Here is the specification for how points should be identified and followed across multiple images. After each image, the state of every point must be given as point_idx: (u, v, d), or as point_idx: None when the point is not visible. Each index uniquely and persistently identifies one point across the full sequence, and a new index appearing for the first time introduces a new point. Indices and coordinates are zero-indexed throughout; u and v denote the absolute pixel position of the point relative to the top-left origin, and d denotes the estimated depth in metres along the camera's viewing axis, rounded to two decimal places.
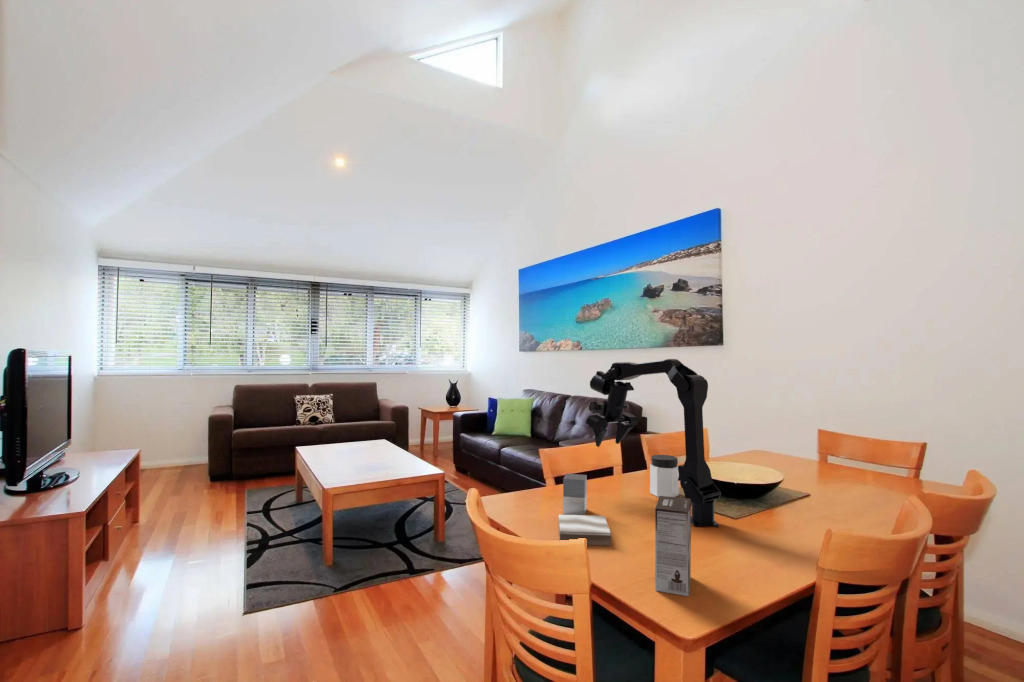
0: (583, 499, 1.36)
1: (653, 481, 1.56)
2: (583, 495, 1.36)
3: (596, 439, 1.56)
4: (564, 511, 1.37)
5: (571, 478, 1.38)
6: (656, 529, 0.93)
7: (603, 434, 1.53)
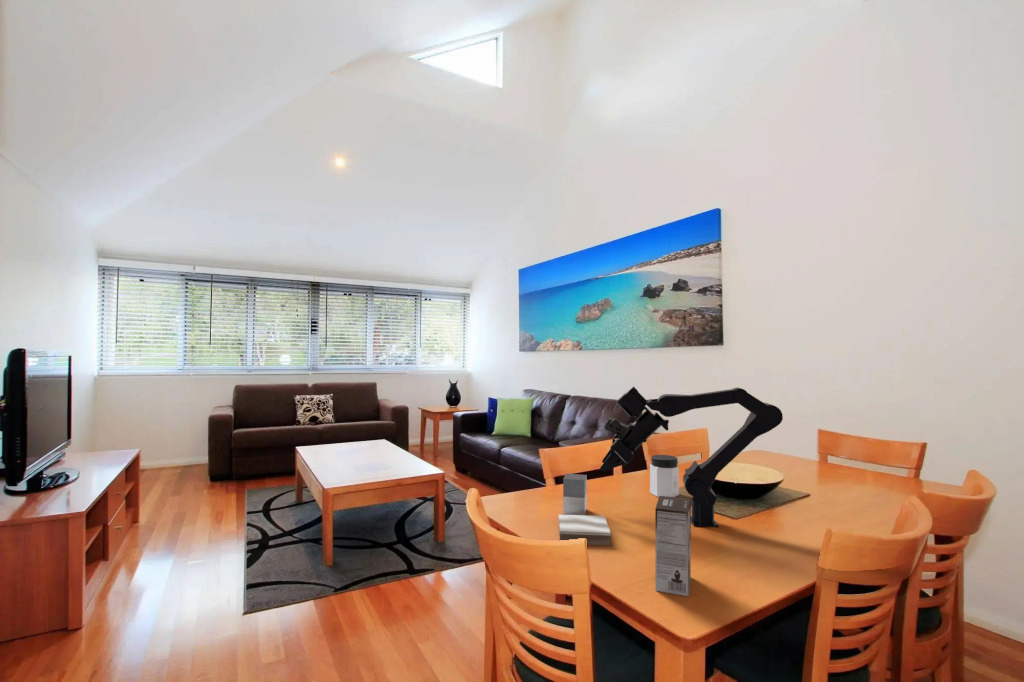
0: (583, 499, 1.36)
1: (653, 481, 1.56)
2: (583, 495, 1.36)
3: (606, 463, 1.32)
4: (564, 511, 1.37)
5: (571, 478, 1.38)
6: (656, 529, 0.93)
7: None
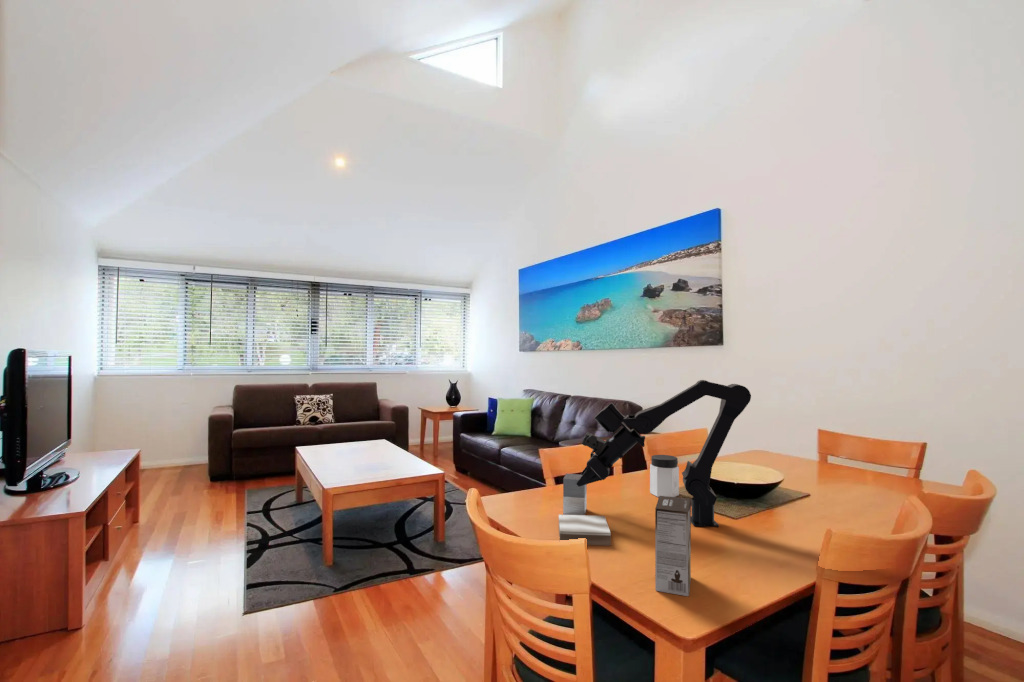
0: (583, 499, 1.36)
1: (653, 481, 1.56)
2: (583, 495, 1.36)
3: (582, 479, 1.34)
4: (564, 511, 1.37)
5: (571, 478, 1.38)
6: (656, 529, 0.93)
7: None
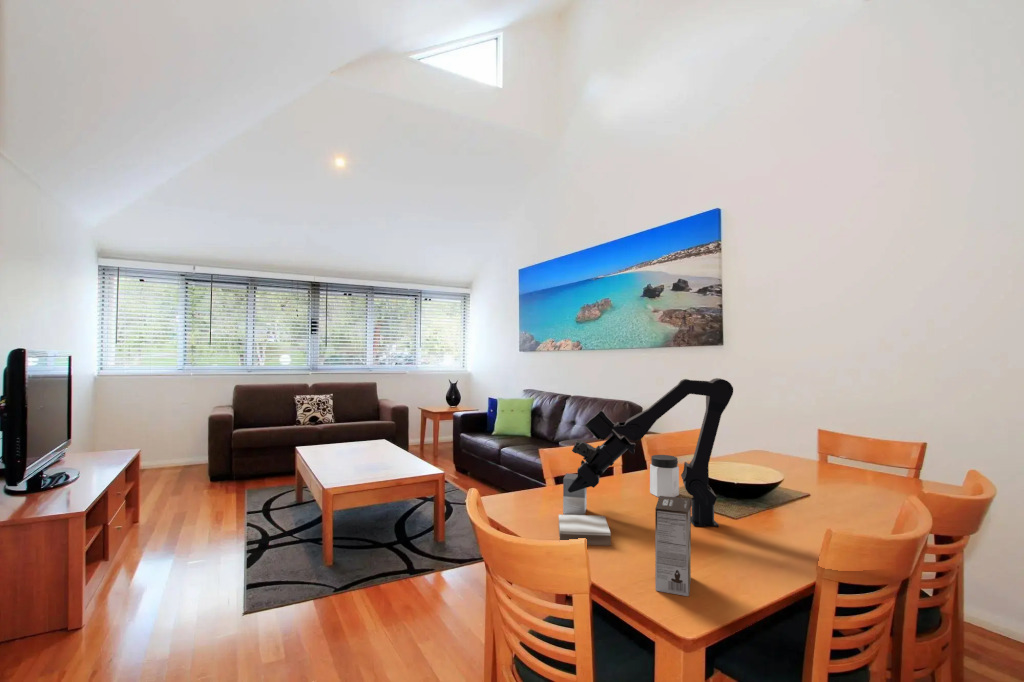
0: (583, 499, 1.36)
1: (653, 481, 1.56)
2: (583, 495, 1.36)
3: (573, 485, 1.36)
4: (564, 511, 1.37)
5: (571, 478, 1.38)
6: (656, 529, 0.93)
7: None
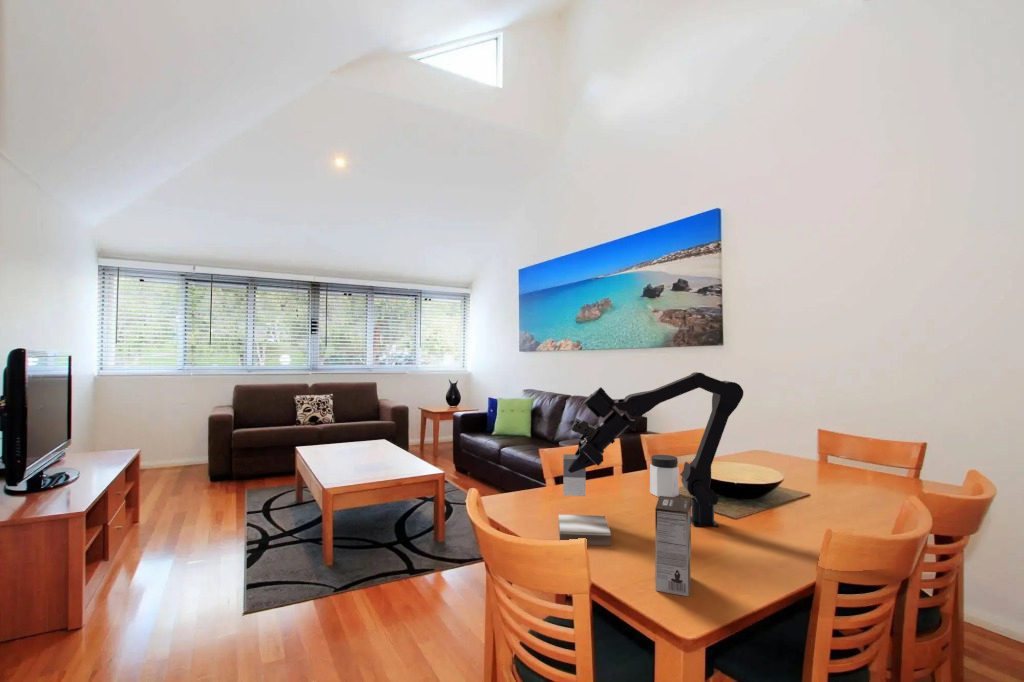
0: (584, 479, 1.32)
1: (653, 481, 1.56)
2: (584, 475, 1.32)
3: (575, 465, 1.31)
4: (564, 492, 1.32)
5: (571, 458, 1.33)
6: (656, 529, 0.93)
7: None
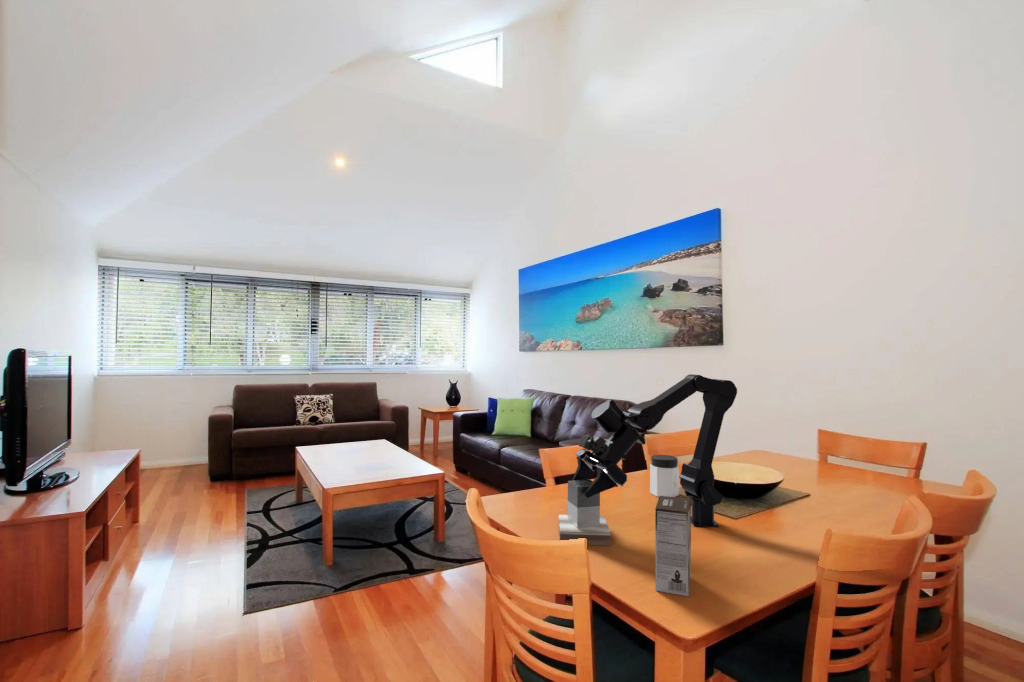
0: (598, 507, 1.19)
1: (653, 481, 1.56)
2: (598, 503, 1.19)
3: (593, 488, 1.17)
4: (578, 525, 1.18)
5: (584, 485, 1.19)
6: (656, 529, 0.93)
7: None
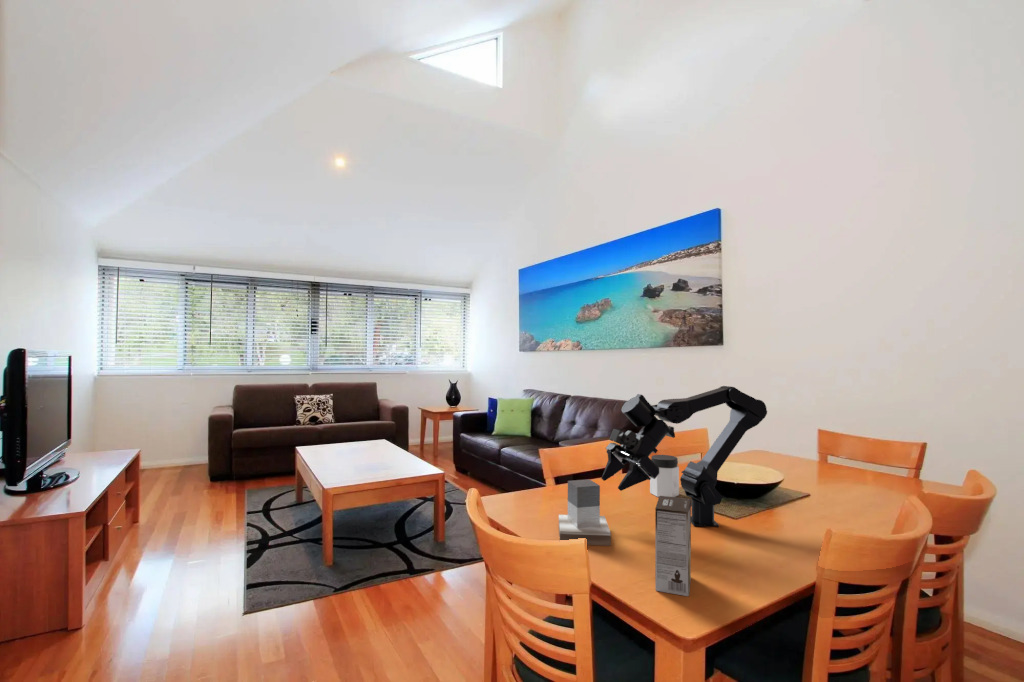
0: (598, 507, 1.19)
1: (653, 481, 1.56)
2: (598, 503, 1.19)
3: (626, 481, 1.19)
4: (578, 525, 1.18)
5: (584, 485, 1.19)
6: (656, 529, 0.93)
7: None
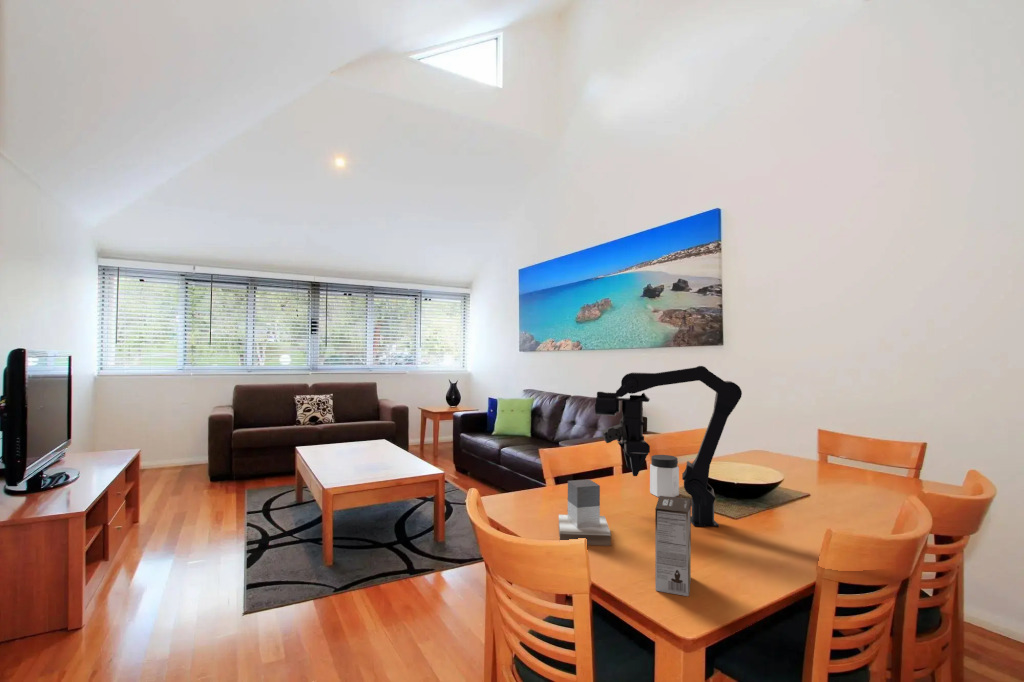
0: (598, 507, 1.19)
1: (653, 481, 1.56)
2: (598, 503, 1.19)
3: (634, 467, 1.32)
4: (578, 525, 1.18)
5: (584, 485, 1.19)
6: (656, 529, 0.93)
7: None
